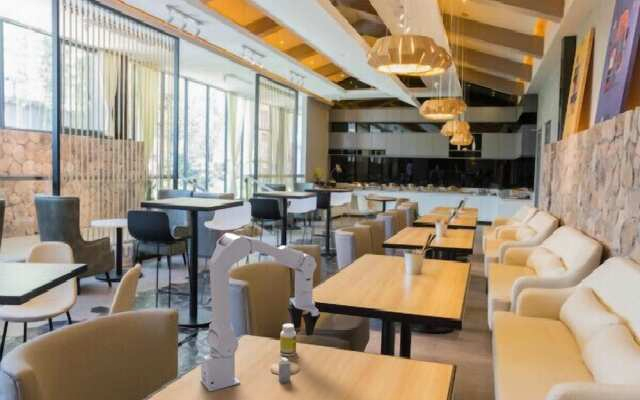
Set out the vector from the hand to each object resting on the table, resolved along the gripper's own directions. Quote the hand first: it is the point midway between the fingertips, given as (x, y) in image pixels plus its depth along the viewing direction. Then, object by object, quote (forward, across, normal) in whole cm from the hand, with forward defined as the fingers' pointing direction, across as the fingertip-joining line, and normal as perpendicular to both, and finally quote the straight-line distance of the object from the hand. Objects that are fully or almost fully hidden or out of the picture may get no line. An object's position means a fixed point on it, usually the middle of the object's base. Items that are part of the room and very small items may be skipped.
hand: (303, 331), depth 163 cm
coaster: (+10, -2, +8) cm, 13 cm away
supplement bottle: (+10, +8, +1) cm, 13 cm away
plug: (+10, -9, +12) cm, 18 cm away
